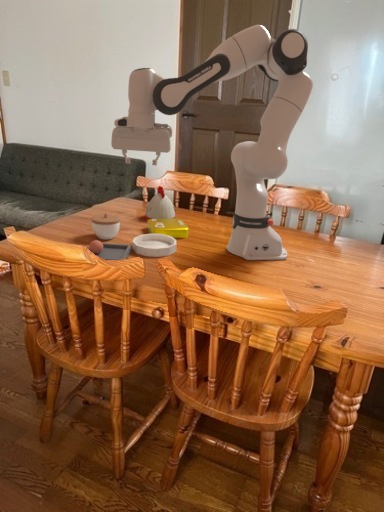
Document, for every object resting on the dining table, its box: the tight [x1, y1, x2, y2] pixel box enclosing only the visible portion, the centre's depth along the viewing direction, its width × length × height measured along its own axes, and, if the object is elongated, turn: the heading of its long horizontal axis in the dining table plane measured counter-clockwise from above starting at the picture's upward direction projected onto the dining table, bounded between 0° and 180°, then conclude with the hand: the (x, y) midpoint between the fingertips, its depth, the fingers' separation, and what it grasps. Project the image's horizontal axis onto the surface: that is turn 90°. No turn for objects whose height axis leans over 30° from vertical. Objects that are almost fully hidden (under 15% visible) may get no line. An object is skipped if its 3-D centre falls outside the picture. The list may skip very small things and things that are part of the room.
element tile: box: [147, 217, 190, 240], centre depth 145 cm, size 15×15×5 cm
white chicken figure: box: [145, 185, 176, 221], centre depth 161 cm, size 14×14×15 cm
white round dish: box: [132, 233, 177, 258], centre depth 128 cm, size 16×16×3 cm
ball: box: [88, 239, 103, 254], centre depth 118 cm, size 5×5×5 cm
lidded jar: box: [90, 213, 121, 241], centre depth 135 cm, size 11×11×9 cm
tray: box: [87, 242, 133, 260], centre depth 119 cm, size 14×14×2 cm
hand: (141, 164), depth 123 cm, fingers open, 8 cm apart
